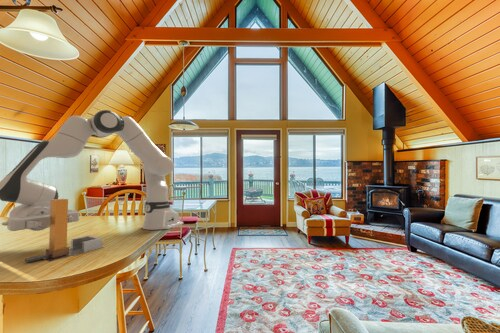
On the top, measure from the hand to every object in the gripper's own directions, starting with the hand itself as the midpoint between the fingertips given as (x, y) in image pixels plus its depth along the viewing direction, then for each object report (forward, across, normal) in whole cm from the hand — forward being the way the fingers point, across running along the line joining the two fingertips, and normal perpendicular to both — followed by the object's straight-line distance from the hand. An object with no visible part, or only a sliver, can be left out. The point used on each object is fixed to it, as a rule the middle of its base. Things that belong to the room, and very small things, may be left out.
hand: (55, 222), depth 84 cm
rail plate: (+2, +4, +12) cm, 13 cm away
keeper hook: (+2, +8, +11) cm, 14 cm away
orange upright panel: (+2, -3, +11) cm, 11 cm away
